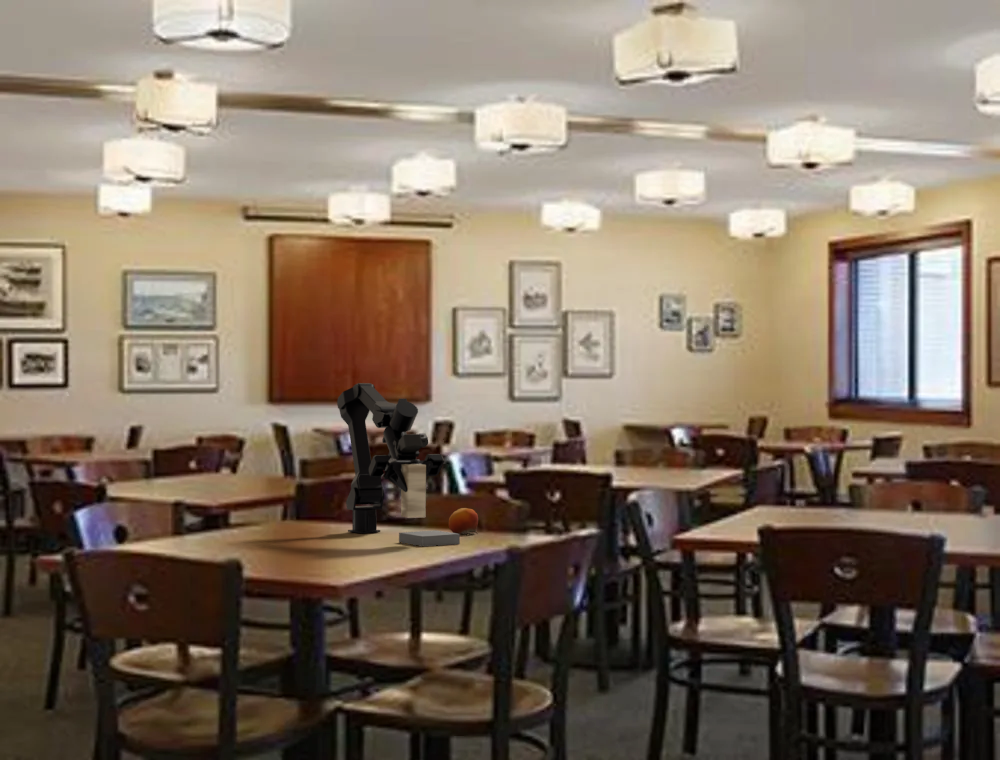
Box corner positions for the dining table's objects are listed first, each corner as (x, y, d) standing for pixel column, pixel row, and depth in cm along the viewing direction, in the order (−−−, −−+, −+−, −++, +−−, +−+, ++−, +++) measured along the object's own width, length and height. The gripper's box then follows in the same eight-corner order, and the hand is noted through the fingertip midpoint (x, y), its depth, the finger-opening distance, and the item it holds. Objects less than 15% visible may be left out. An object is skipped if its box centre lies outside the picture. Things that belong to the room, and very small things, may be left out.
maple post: (401, 516, 354) (401, 464, 354) (418, 515, 356) (418, 463, 356) (408, 517, 349) (408, 465, 349) (425, 517, 351) (425, 464, 352)
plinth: (398, 542, 357) (399, 532, 357) (435, 540, 363) (435, 530, 363) (422, 546, 348) (422, 536, 348) (459, 544, 354) (459, 534, 354)
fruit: (471, 530, 373) (459, 504, 376) (451, 544, 377) (439, 517, 380) (490, 528, 380) (478, 502, 382) (470, 542, 384) (458, 515, 386)
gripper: (373, 422, 352) (389, 469, 342) (441, 422, 360) (459, 468, 351) (361, 453, 359) (377, 499, 349) (428, 452, 367) (446, 497, 357)
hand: (415, 490), depth 351 cm, fingers closed on maple post, 5 cm apart
